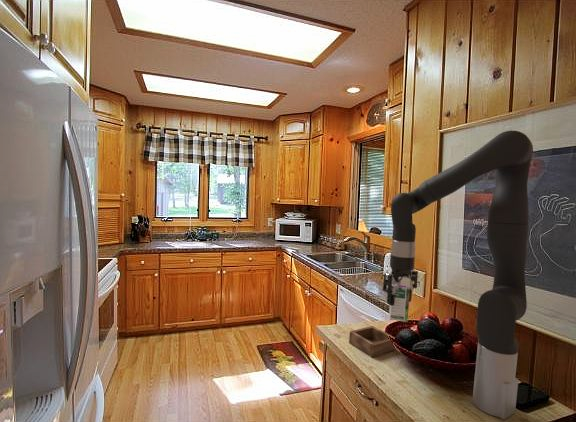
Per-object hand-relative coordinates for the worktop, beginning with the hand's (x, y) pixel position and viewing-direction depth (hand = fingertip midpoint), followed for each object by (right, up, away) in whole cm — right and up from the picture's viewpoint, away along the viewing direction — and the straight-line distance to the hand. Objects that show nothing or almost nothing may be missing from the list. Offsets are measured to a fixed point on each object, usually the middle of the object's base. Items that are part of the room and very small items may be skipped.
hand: (399, 302), depth 108 cm
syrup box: (0, -5, 0) cm, 5 cm away
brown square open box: (-5, -20, +14) cm, 25 cm away
